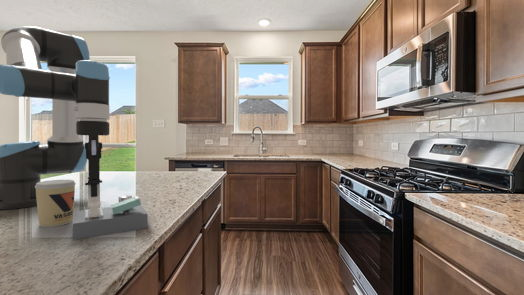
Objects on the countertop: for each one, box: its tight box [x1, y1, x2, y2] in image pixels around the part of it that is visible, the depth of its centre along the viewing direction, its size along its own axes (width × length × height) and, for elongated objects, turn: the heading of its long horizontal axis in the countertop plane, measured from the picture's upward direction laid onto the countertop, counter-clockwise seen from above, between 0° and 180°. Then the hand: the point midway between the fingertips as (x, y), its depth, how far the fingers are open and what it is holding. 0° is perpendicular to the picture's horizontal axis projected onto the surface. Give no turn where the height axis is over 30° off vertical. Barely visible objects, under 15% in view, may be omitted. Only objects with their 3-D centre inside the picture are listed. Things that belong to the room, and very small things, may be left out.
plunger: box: [118, 195, 133, 203], centre depth 80 cm, size 4×4×3 cm
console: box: [72, 204, 149, 241], centre depth 75 cm, size 13×17×5 cm
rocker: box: [110, 195, 142, 214], centre depth 74 cm, size 4×7×2 cm, turn 123°
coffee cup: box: [35, 179, 76, 228], centre depth 78 cm, size 9×9×12 cm
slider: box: [87, 200, 102, 218], centre depth 70 cm, size 3×3×4 cm
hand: (94, 207), depth 72 cm, fingers closed
